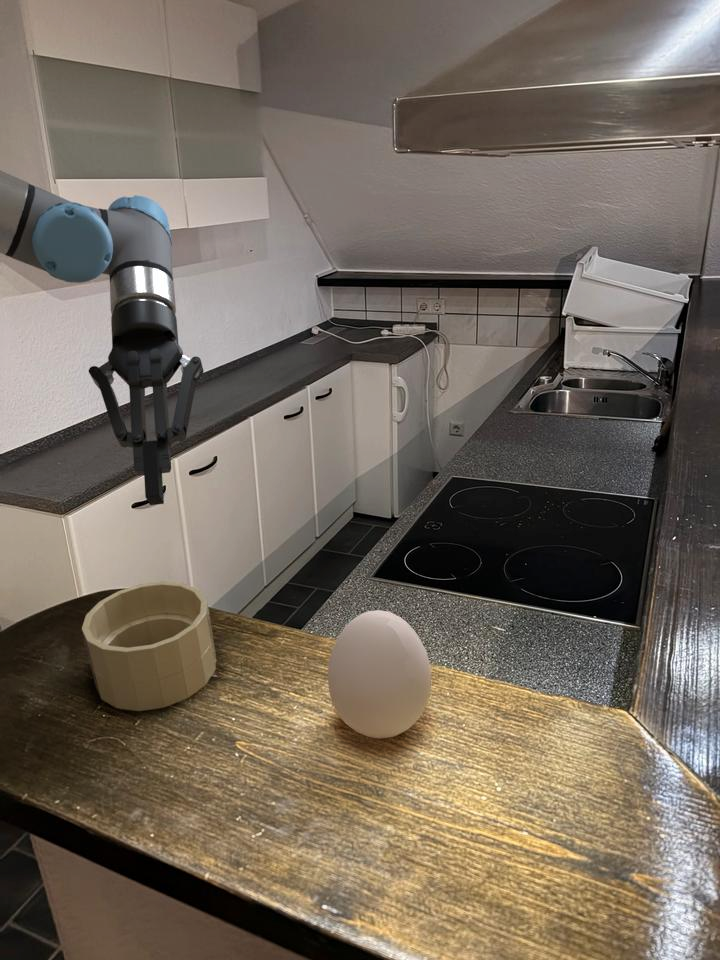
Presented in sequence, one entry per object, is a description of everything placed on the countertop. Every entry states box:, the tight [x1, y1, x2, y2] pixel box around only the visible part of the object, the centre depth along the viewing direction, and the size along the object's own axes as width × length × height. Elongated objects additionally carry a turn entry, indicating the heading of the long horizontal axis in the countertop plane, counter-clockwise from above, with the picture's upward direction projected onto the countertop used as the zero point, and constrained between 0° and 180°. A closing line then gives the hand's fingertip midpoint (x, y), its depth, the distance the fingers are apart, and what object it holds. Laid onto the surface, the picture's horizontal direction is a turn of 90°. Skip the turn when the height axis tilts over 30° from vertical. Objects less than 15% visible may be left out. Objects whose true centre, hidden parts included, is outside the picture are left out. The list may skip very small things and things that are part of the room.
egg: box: [327, 609, 432, 740], centre depth 64 cm, size 9×9×11 cm
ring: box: [81, 581, 217, 712], centre depth 72 cm, size 11×11×8 cm
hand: (154, 500), depth 83 cm, fingers closed
